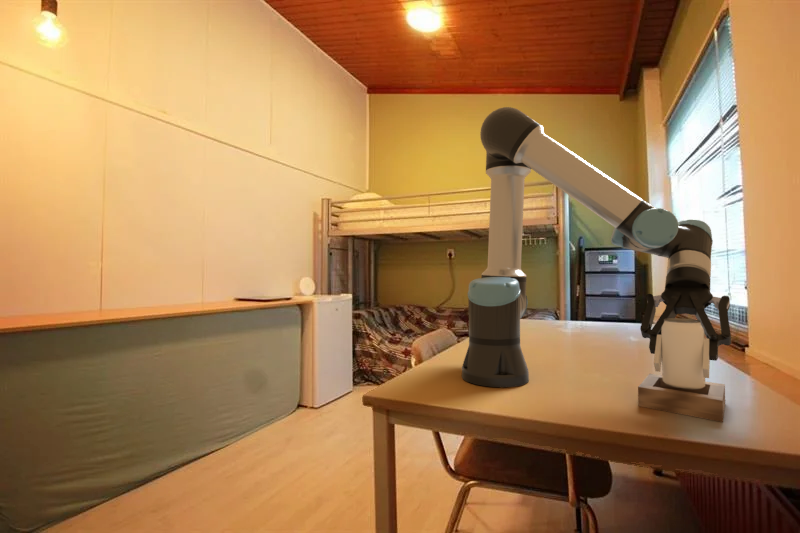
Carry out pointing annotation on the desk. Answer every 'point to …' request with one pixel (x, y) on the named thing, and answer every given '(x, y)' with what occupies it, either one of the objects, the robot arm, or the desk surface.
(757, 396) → the desk surface
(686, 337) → the can
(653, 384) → the holder
